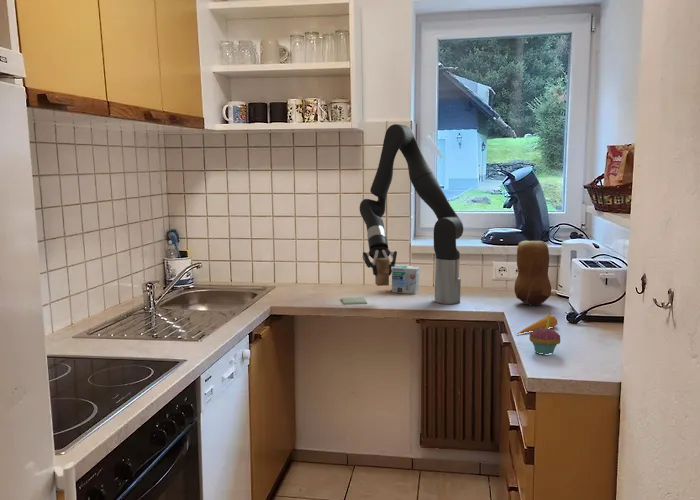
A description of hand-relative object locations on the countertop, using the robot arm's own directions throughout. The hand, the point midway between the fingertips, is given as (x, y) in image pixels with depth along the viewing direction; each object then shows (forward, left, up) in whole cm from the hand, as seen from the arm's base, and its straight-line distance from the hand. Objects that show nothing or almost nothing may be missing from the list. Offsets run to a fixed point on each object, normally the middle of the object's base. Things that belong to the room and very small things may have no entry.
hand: (383, 274), depth 225 cm
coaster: (+10, -7, -12) cm, 17 cm away
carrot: (-42, +41, -12) cm, 60 cm away
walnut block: (0, -2, -4) cm, 5 cm away
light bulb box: (-14, -22, -12) cm, 29 cm away
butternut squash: (-57, +7, -12) cm, 58 cm away
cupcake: (-35, +63, -12) cm, 73 cm away
